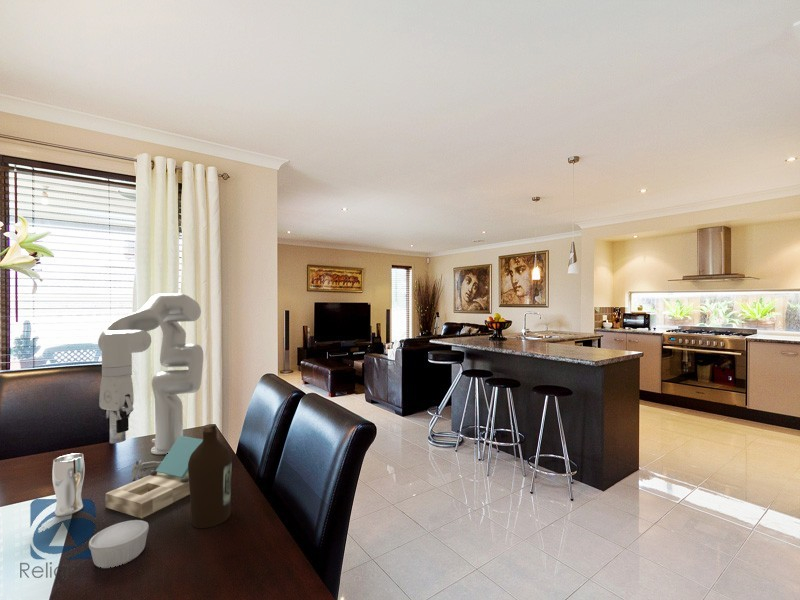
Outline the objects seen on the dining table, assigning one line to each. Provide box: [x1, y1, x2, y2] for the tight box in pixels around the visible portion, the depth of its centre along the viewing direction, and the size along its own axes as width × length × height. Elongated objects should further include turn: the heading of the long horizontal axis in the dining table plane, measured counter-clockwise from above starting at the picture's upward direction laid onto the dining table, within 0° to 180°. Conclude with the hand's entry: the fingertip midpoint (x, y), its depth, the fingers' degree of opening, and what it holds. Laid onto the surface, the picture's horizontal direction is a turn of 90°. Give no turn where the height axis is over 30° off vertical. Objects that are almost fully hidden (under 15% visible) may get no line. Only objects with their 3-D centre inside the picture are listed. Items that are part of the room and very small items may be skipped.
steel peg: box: [109, 407, 127, 444], centre depth 120 cm, size 4×4×10 cm
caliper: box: [131, 459, 163, 481], centre depth 137 cm, size 20×1×6 cm, turn 148°
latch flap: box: [155, 435, 203, 478], centre depth 124 cm, size 12×12×1 cm
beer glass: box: [51, 452, 86, 517], centre depth 110 cm, size 7×7×15 cm
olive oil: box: [188, 423, 233, 529], centre depth 104 cm, size 11×11×25 cm
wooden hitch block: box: [105, 470, 190, 519], centre depth 118 cm, size 16×22×5 cm
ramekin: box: [88, 519, 150, 569], centre depth 89 cm, size 11×11×5 cm
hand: (117, 430), depth 120 cm, fingers closed on steel peg, 4 cm apart
